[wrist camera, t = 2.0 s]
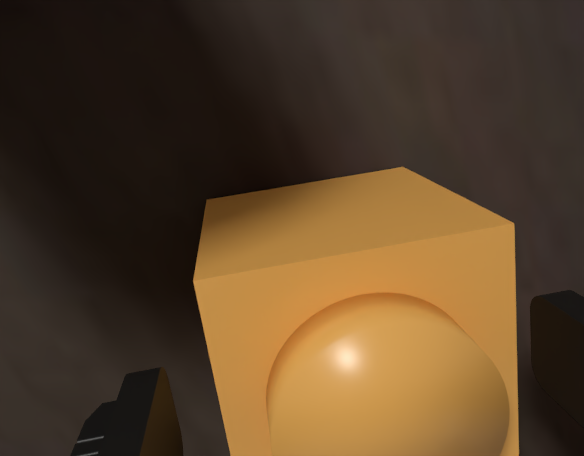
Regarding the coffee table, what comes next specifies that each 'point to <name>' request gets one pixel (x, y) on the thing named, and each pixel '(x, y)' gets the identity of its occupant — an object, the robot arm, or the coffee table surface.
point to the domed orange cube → (361, 319)
